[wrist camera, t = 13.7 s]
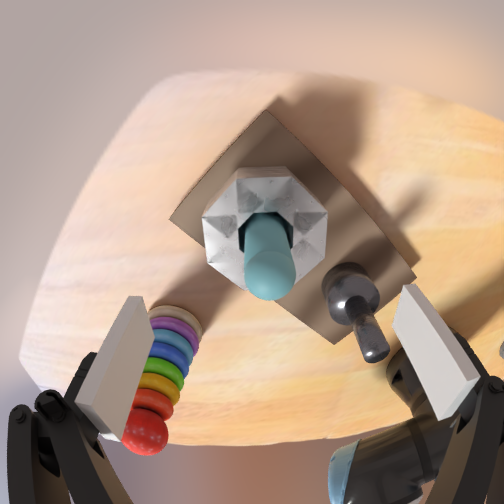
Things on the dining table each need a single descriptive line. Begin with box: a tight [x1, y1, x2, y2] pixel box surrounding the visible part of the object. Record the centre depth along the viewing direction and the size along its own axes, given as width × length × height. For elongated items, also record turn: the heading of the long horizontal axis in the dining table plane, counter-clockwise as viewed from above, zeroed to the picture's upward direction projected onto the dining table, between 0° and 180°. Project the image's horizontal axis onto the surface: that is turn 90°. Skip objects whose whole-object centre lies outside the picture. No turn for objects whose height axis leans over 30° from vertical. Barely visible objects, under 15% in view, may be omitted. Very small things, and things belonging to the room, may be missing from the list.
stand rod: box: [321, 262, 390, 363], centre depth 26 cm, size 6×6×11 cm
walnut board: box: [169, 110, 417, 345], centre depth 30 cm, size 26×14×2 cm, turn 47°
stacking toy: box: [121, 305, 202, 455], centre depth 28 cm, size 8×8×19 cm
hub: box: [240, 212, 296, 300], centre depth 21 cm, size 7×7×14 cm
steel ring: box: [201, 166, 328, 290], centre depth 23 cm, size 9×9×4 cm
